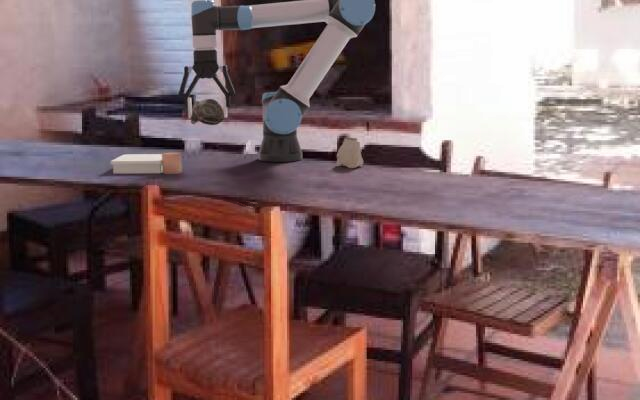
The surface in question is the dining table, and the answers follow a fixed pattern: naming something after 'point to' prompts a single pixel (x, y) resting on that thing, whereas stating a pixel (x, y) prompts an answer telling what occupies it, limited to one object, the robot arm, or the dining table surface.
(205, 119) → the fossil
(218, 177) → the dining table surface
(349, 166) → the beige rough lump
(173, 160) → the peach rounded glossy part
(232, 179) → the dining table surface
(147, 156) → the stand
